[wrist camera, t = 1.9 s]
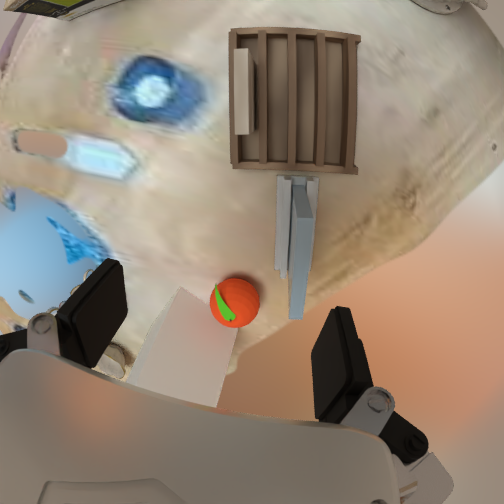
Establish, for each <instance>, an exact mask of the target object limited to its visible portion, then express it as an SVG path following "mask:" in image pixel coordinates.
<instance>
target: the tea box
mask: <svg viewBox="0 0 504 504" xmlns="http://www.w3.org/2000/svg"><path fill="white" fill-rule="evenodd" d="M118 1H121V0H6V2H5V5H4V8H3V10H4V11H13V12H23V13H30V14H36V15H42V16H47V17H53V18H57V19H61V20H67V21H69V20H71V19H74V18H76V17H78V16H80V15H83V14H85V13H88V12H90V11H93V10H95V9H98V8H101V7H103V6H106V5H109V4H112V3H115V2H118Z"/></svg>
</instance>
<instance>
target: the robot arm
mask: <svg viewBox="0 0 504 504" xmlns="http://www.w3.org/2000/svg"><path fill="white" fill-rule="evenodd" d="M412 1H414V2H415V3H417V4H418V5H420V6H422V7H424V8H426V9H428V10H430V11H433V12H436V13H441V14H450V13H453V12H455V11H457V10H458V9H459V8H460V7H461V4H462V1H466V2H471V3H473V4H474V5H476V6H478V7H479V8H481V9H482V10H486V9H487V3H486V1H485V0H412ZM127 313H128V308H127V301H126V293H125V284H124V274H123V266H122V265H120V262H119V261H117V260H113V259H110V258H107V259H106V260H105V261H104V262H103V263H102V264H101V265H100V266H99V267H98V268H97V269H96V270H95V271H94V272H93V273H92V274H91V275H90V276H89V277H88V278H87V279H86V280H85V281H84V282H83V283H82V284H81V285H80V286H79V287H78V289H77V290H76V291H75V292H74V293H73V294H72V295H71V296H70V297H69V298H68V300H67V301H66V302H65V303H64V304H63V305H62V306H61V307H60V309H59V310H58V311H57V314H56V315H55V316H54V315H52V314H50V313H39V314H37V315H35V316H33V317H32V319H30V321H29V323H28V327H27V329H24V330H20V331H16V332H12V333H8V334H4V335H0V504H442V503H443V502H444V501H445V500H446V499H447V497H448V496H449V495H450V494H451V492H452V491H453V487H454V484H453V480H452V477H451V476H450V475H449V473H448V472H447V471H446V470H445V468H444V467H443V466H442V464H441V463H440V461H439V460H438V459H437V458H436V456H435V455H434V454H433V452H431V453H429V452H428V451H427V450H428V440H427V438H426V436H425V434H424V433H423V432H421V431H420V430H419V429H417V428H416V427H415V426H413V425H412V424H410V423H409V422H408V421H407V420H405V419H404V418H403V417H401V416H400V415H399V414H398V413H396V412H395V411H394V408H395V401H394V398H393V396H392V395H391V394H390V393H389V392H388V391H387V390H385V389H384V388H381V387H374V386H373V382H372V378H371V374H370V370H369V366H368V362H367V358H366V354H365V350H364V347H363V343H362V341H361V339H358V335H357V332H356V328H355V325H354V321H353V318H352V314H351V311H350V309H349V308H346V307H340V306H337V307H335V309H331V311H330V313H329V315H328V317H327V319H326V322H325V324H324V326H323V328H322V330H321V332H320V335H319V337H318V339H317V341H316V343H315V345H314V347H313V349H312V352H311V361H312V376H313V392H314V409H315V418H316V419H319V422H315V421H303V420H293V419H283V418H275V417H267V416H260V415H253V414H247V413H241V412H235V411H230V410H224V409H219V408H215V407H210V406H206V405H201V404H197V403H193V402H189V401H185V400H181V399H177V398H174V397H170V396H166V395H163V394H160V393H156V392H153V391H150V390H147V389H144V388H141V387H138V386H135V385H132V384H129V383H126V382H123V381H120V380H118V379H115V378H112V377H110V376H107V375H105V374H102V373H100V372H97V371H95V370H92V369H91V368H94V367H95V366H96V365H97V363H98V362H99V360H100V358H101V357H102V355H103V353H104V352H105V350H106V348H107V347H108V345H109V343H110V342H111V340H112V338H113V337H114V335H115V334H116V332H117V330H118V329H119V327H120V326H121V324H122V323H123V321H124V320H125V318H126V316H127Z"/></svg>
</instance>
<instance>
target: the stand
mask: <svg viewBox="0 0 504 504" xmlns="http://www.w3.org/2000/svg"><path fill="white" fill-rule="evenodd" d="M292 184H293V185H304V187H305V191H306V194H307V197H308V200H309V204H310V207H311V210H312V214H313V217H314V223H313V234H312V244H311V254H310V263H309V271H311V263H312V254H313V245H314V235H315V224H316V213H317V201H318V187H319V177H315V176H296V175H277V206H276V240H275V267H274V270H280V278H286V273H287V270H288V255H289V239H290V220H291V199H292Z"/></svg>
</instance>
